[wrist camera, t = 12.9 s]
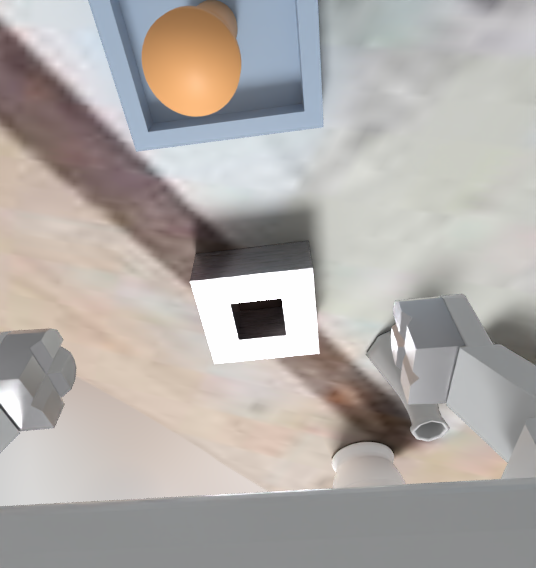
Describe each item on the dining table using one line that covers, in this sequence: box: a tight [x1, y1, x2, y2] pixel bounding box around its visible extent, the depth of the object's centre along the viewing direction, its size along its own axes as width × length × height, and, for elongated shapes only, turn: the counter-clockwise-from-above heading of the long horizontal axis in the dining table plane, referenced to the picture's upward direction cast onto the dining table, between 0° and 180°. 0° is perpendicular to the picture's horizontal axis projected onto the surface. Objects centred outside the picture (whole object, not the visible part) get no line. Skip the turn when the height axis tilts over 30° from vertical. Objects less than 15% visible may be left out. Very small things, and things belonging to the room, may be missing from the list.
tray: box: [88, 0, 323, 152], centre depth 27 cm, size 13×13×2 cm
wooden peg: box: [142, 0, 241, 117], centre depth 23 cm, size 4×4×11 cm
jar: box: [332, 442, 406, 488], centre depth 54 cm, size 11×10×15 cm
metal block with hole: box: [190, 241, 319, 364], centre depth 40 cm, size 10×10×4 cm
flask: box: [366, 331, 450, 441], centre depth 43 cm, size 7×7×10 cm
